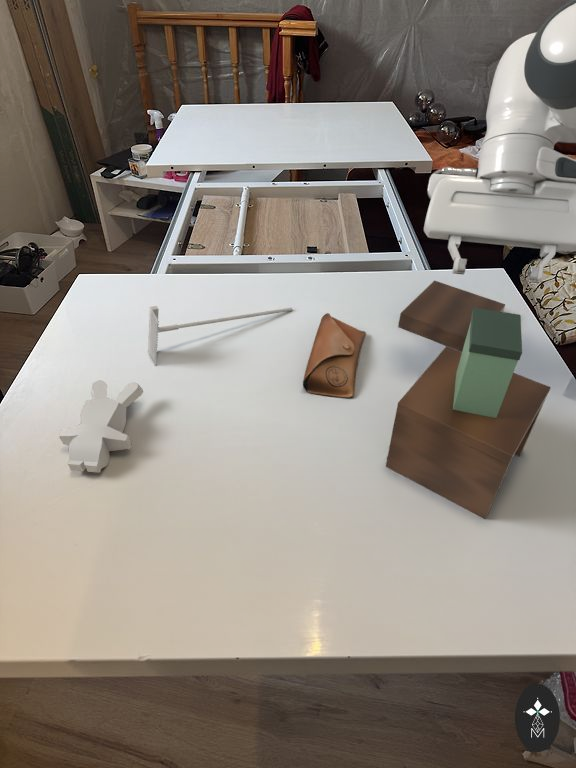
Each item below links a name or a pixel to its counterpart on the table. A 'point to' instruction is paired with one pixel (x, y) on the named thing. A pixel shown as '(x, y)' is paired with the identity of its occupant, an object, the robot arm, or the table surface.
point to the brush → (155, 329)
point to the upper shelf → (460, 436)
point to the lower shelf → (444, 314)
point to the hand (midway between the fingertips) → (495, 277)
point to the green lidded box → (487, 362)
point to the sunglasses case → (333, 359)
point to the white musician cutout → (99, 428)
